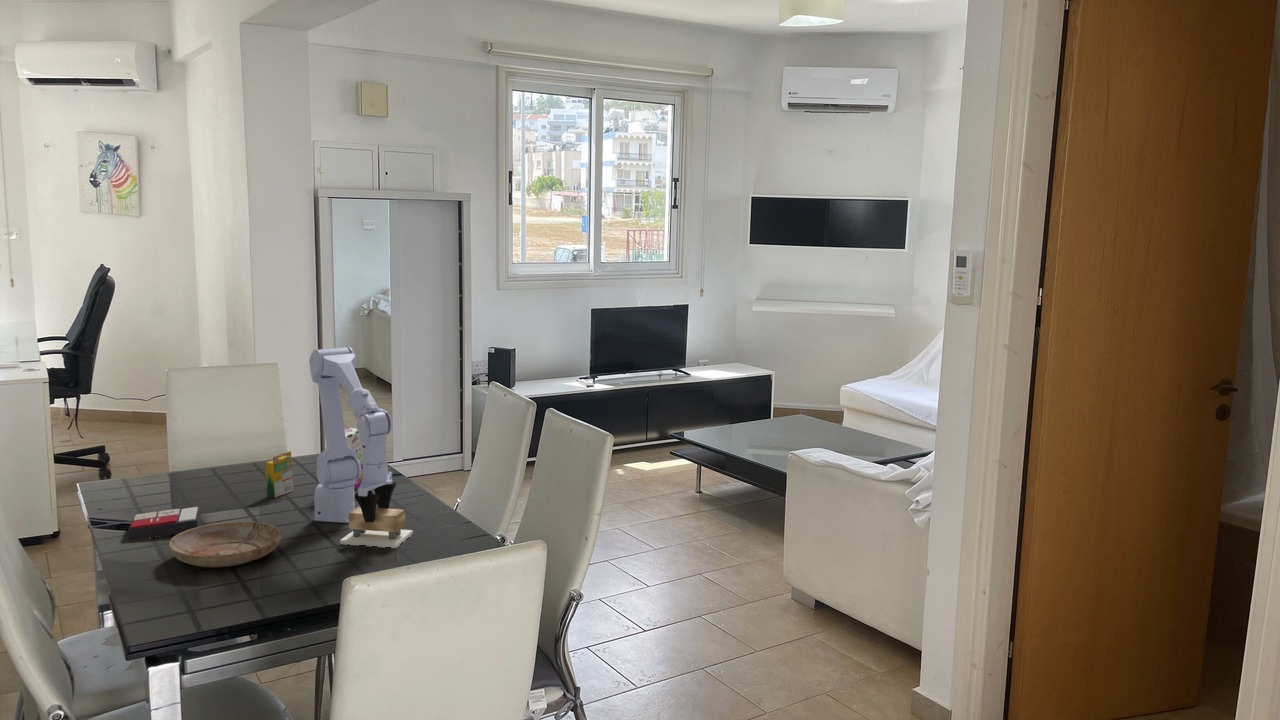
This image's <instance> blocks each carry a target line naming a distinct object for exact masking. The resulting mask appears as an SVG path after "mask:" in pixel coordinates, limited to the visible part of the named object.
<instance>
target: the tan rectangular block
mask: <svg viewBox="0 0 1280 720" xmlns="http://www.w3.org/2000/svg"><path fill="white" fill-rule="evenodd" d="M405 526H406V509H399V508H389V509H387V508H378V507H376V514H375V520H374V522H365V520H364V517H363V513H362V510H361V508H360V506H357V507H355V509H354V510H352V511H351V512H349V523H348V529H349V530H353V529H356V530H371V531H385V532H398V531H399V530H400V529H401V530H403V528H404V527H405Z"/></svg>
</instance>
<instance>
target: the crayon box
mask: <svg viewBox="0 0 1280 720" xmlns="http://www.w3.org/2000/svg"><path fill="white" fill-rule="evenodd" d="M292 466H293V465H292V450H291V451H288V452H284V453H280V454H278V455H276V456H275V455H274V456H272V460H269V461H266V462H265V480H266V481H265V482H266V496H267V497H268V498H274V499H276V498H278V497H281V496H284V495H286V494H289V493H291V492H294V481H293V467H292Z"/></svg>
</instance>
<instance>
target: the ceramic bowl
mask: <svg viewBox="0 0 1280 720" xmlns="http://www.w3.org/2000/svg"><path fill="white" fill-rule="evenodd" d="M281 540H282V532H281V531H280V530H279V529H278V528H277V527H276V526H274V525H270V524H267V523H261V522H256V521H254V522H253V521H229V522H220V523H219V522H218V523H212V524H208V525H200V527H196V528H193V529H189V530H187V531H184V532H181V533H179V534H178V535H173V537H172V538H171V539H170V540H169V543H168V548H169V552H170V554H171V555H172V556H173V557H174V558H176V559H177V560H178V561H181V562H183V563H186V564H188V565H190V566H191V565H192V566H194V567H195V566H196V567H203V568H224V567H226V568H227V567H233V566H240V565H244V564H246V563H247V564H248V563H249V562H250V563H251V562H253V561H256V560H259V559H261V558H263V557H265V556H267V555H268V554H271V552H273V551H275V549H276V548H277V547H278V546H279V544H280V543H281Z"/></svg>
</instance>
